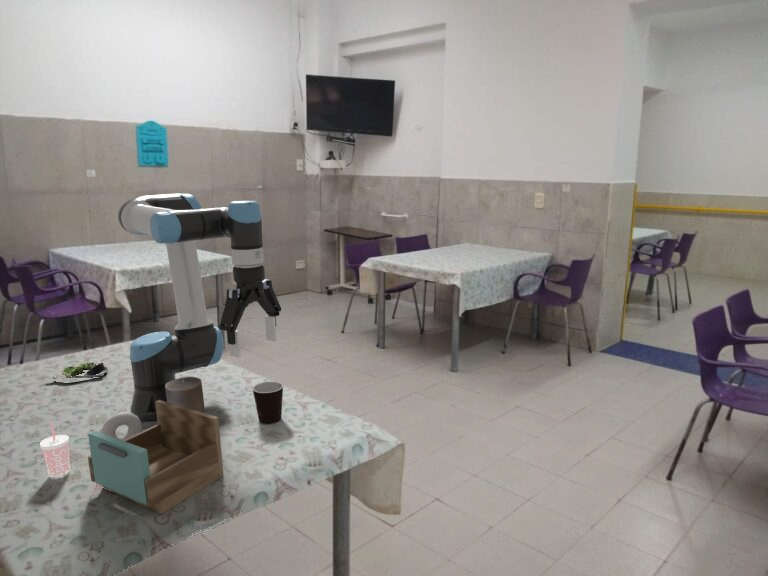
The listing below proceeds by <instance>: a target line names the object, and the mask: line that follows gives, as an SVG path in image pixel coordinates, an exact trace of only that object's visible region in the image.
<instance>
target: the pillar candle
mask: <svg viewBox="0 0 768 576" xmlns="http://www.w3.org/2000/svg"><path fill="white" fill-rule="evenodd" d="M165 389H166V396H167V402H168V403H171V404H175V405H178V406H182V407H185V408H189V409H192V410H196V411H199V412H202V413H206V410H205V399H204V391H203V383H202V379H201V378H199V377H197V376H195V377H194V376H186V377H180V378H175V380H172V381H170V382H168V383H167V384H166V385H165Z"/></svg>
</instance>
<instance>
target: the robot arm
mask: <svg viewBox="0 0 768 576" xmlns="http://www.w3.org/2000/svg"><path fill="white" fill-rule="evenodd" d="M117 218H118V222H119V225H120V226H121V228H122V229H123V230H124V231H126V232H127V233H129V234H131V235H135V236H147V235H149V236H151V237H152V238H153V240H154V242H155V243H157V244H164V245H165V246H166V251H167V257H168V258H167V259H168V264H169V271H170V276H171V281H172V283H171V284H172V290H173V295H174V296H173V297H174V300H175V308H176V314H177V320H178V322H177V324H176V325H175V327H174V334H171V333H170V332H169V331H162V330H161V331H154V332H149V333H147V334H144V335H141V336H139V337H137V338H135V339H134V340H133V341H132V342H131V343H130V346H129V359H130V363H131V370H132V371H131V373H132V380H133V389H134V391H133V395H132V400H131V405H130V413H133V414H134V415H136V416H137V417H138V418H139V419H140V421H141V422H142V421H143V422H148V421H149V422H150V421H157V413H156V404H155V402H156V401H158V400H161V401H165V402H167V396H166V389H165V385H166V384H167V383H168V382H170V381H172V380H175V379H176V374H180V373H183V372H188V371H192V370H196V369H201V368H206V367H207V368H208V367H209V366H212V365H215V364H217V363H218V362H219V361H220V360H221V358H222V356H223V354H224V338H223V335H222V331H224V332H226V338H227V344H228V347H229V356H230V357H235V358H241V357H242V355H241V354H242V353H241V343H240V330H238V326H239V324H240V321H241V319H242V317H243V315H244V312H245V310H246V308H248V306H249V305H250V304H253V303H254V302H257V303H258V305H260V307H261V309H262V310H263V311H264V313H266V314H267V315H265V316H264V319H265V321H264V323H265V338H266V341H270V342H276V341H277V329H276V327H277V317H279V316H280V313H281V311H282V307H281V305H280V302H279V300H278V297H277V296H276V292H275V290H274V289H273V283H272V280H271V279H267V278H266V273H265V265H264V264H263V263H264V245H263V243H264V242H263V240H264V239H263V225H262V224H263V223H262V218H263V217H262V213H261V205H260V203H259V202H258V201H257V200H233V201H230V202H229V203H228V205H227V206H226V205H224V206H216V207H211V208H202V205H201V203H200V202H199V200H198V199H197V198H196V196H195V195H193V194H191V193H168V194H167V193H166V194H154V195H153V194H152V195H151V194H150V195H147V194H146V195H145V194H144V195H140V196H135V197H133V198H129V199H128V200H127V201H125V202H124V203H123V204H122V205H121V206H120V208H119V209H118V213H117ZM223 238H224V239H225V238H230V249H231V263H232V265H233V267H232V276H233V281H234V282H235V284H236V287H235V288H228V289H227V290H226V298H225V299H226V300H225V303H224V308H223V312H222V316H221V319H220V322H219V323H220V324H219V327H217V326H215V325H214V321H213V320H211V319H209V317H208V314H207V307H206V302H205V294H204V288H203V282H202V275H201V270H200V269H201V268H200V264H199V255H198V249H197V245H196V242H197V241H200V240H201V241H202V240H203V241H205V240H211V239H212V240H213V239H223Z"/></svg>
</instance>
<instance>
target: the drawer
mask: <svg viewBox="0 0 768 576" xmlns="http://www.w3.org/2000/svg"><path fill="white" fill-rule="evenodd" d="M155 404H156V413H157V420H156V421H157V424H155V425H152V426H150V427H149V428H146V429H144V430H142V432H139V433H137V434H135V435H133V436H131V437H129V438H127V439H124V440H122V441H125V442H128V443H130V444H133V445H136V446H139V447H141V448H144V449H147V454H148V462H149V470H150V477H149V478H147V479H145V486H146V494H147V502H148V505H145V504H143V503H141V502H138V501H136V500H134V499H131V498H129V497H127V496H125V495H122V494H120V493H118V492H115V491H113V490H111V489H109V488H107V489H109V490H111V491H113V492H115V493H117V494H119V495H118V496H120V495H121V496H120V497H122V496H123V498H124V497H125V499H127V498H128V499H127V500H129V501H131V500H132V501H131V502H133V501H134V502H133V503H136V504H138V505H140V506H142V507H145V508H147V509H150V510H152V511H153V512H156V513H158V514H159V515H160V514H161V515H163V514H164V513H166V512H167V511H170V510H171V509H172V508H174V507H175V506H177V505H180V503H182V502H184V501H186V500H187V499H188V498H190V497H191V496H193V495H195V494H197V493H198V492H199V491H201V490H202V489H204V488H206V487H207V486H209V485H211V484H212V483H214V482H215V481H217V480H218V479H220V478H221V477H223V476H224V468H223V467H224V466H223V465H224V464H223V456H222V444H221V435H220V421H219V416H216V415H212V414H209V413H206V412H205V413H202V412H199V411H196V410H192V409H189V408H185V407H182V406H178V405H175V404H171V403H168V402H165V401H161V400H158V401H156V402H155ZM87 461H88V462H87V463H88V467H89V473H90V474H89V476H90V481H91V482H93V483H95V479H94V472H93V465H92V458H91V454H90V455H89V456H87ZM101 487H104V486H102V485H101ZM104 488H106V487H104ZM104 488H103V489H104ZM111 491H110V492H111ZM113 492H112V493H113ZM115 493H114V494H115ZM117 494H116V495H117Z"/></svg>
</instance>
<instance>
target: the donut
mask: <svg viewBox="0 0 768 576" xmlns="http://www.w3.org/2000/svg"><path fill="white" fill-rule="evenodd" d="M121 426H127V429H128V430H127V432H126V433H125V434H124V435H121V436H120V435H117V434H116V431H117V429H119V427H121ZM142 431H143V425H142V421H141V420H140V419H139V418H138V417H137V416H136V415H134V414H133V413H131V412H129V411H123V412H117V413H115V414H112V416H110V417H109V418H107V419H106V421H105V422H104V424H103V425H102V427H101V431H100V433H103V434H106V435H108V436H111V437H114V438H117V439H119V440H124V439H127V438H129V437H131V436H133V435H135V434H137V433H139V432H142Z"/></svg>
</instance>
